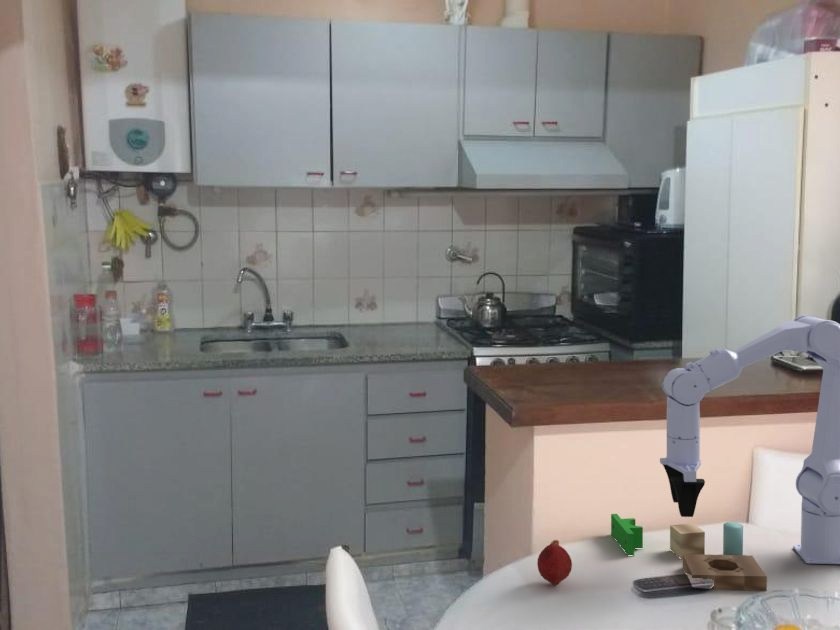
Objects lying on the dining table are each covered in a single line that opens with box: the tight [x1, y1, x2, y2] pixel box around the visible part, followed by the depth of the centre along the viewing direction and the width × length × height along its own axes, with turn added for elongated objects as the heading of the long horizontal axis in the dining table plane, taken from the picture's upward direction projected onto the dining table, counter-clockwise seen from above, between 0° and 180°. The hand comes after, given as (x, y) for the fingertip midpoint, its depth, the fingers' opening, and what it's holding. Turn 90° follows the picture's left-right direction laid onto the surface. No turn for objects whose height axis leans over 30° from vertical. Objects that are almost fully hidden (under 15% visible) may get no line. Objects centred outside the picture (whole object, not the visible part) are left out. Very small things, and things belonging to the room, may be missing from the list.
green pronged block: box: [610, 513, 644, 556], centre depth 164 cm, size 11×4×5 cm, turn 3°
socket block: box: [682, 554, 768, 592], centre depth 148 cm, size 12×9×2 cm
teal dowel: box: [722, 521, 744, 555], centre depth 157 cm, size 3×3×6 cm
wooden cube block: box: [669, 522, 706, 559], centre depth 159 cm, size 5×5×5 cm
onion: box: [536, 539, 573, 586], centre depth 147 cm, size 6×6×8 cm
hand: (682, 509), depth 155 cm, fingers open, 7 cm apart
